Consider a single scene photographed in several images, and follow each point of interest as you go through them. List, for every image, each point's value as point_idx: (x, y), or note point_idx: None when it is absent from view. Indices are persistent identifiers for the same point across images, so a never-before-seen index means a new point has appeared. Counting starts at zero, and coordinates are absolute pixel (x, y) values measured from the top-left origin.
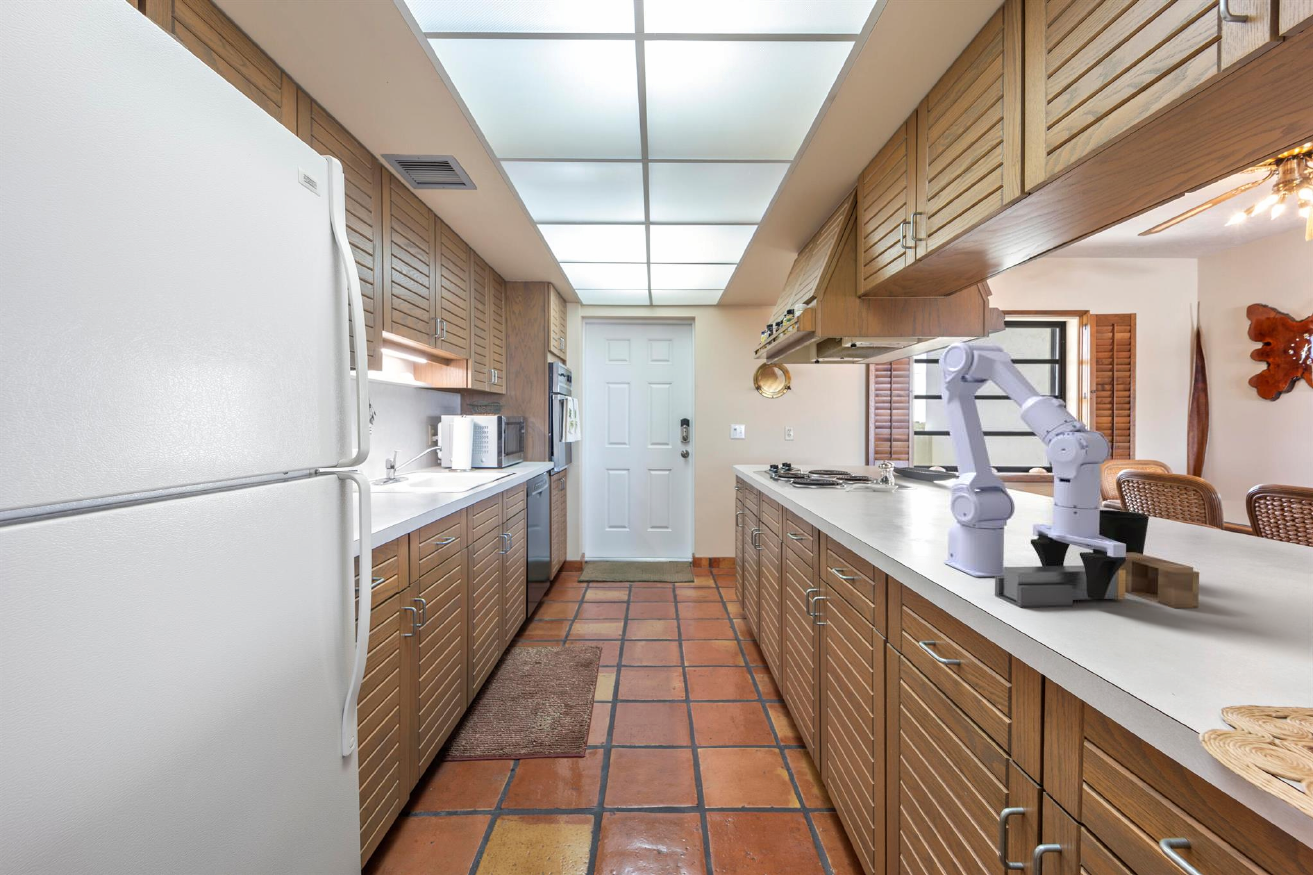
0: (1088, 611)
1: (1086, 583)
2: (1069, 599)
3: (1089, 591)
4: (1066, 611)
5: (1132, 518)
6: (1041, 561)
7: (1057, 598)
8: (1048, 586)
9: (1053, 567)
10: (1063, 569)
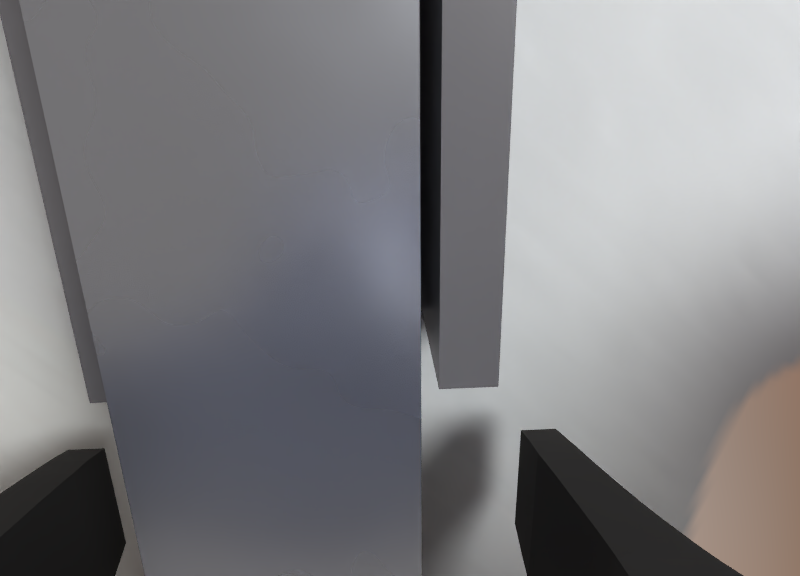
0: (60, 344)
1: (19, 525)
2: None
3: (31, 476)
4: (30, 161)
5: None
6: (682, 548)
7: None
8: (24, 83)
9: (350, 479)
10: (245, 534)
